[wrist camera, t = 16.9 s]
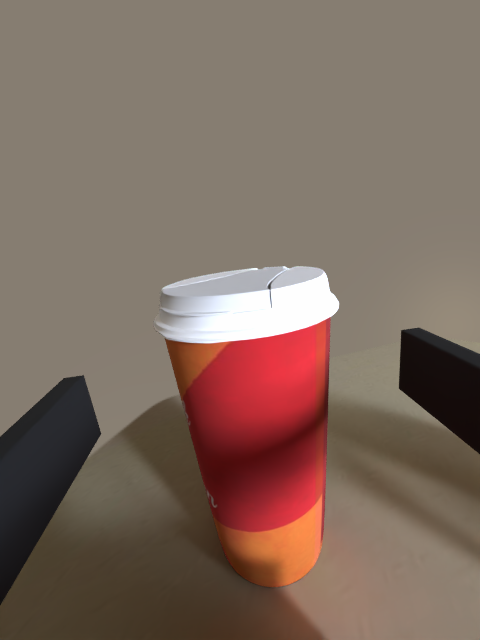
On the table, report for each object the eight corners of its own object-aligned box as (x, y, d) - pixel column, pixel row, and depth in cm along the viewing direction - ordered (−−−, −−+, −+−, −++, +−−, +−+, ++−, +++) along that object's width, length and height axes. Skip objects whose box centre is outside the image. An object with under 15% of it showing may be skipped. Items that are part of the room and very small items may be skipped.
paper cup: (249, 459, 21) (223, 267, 17) (360, 503, 17) (359, 260, 13) (169, 560, 15) (102, 298, 11) (311, 671, 11) (282, 305, 7)
